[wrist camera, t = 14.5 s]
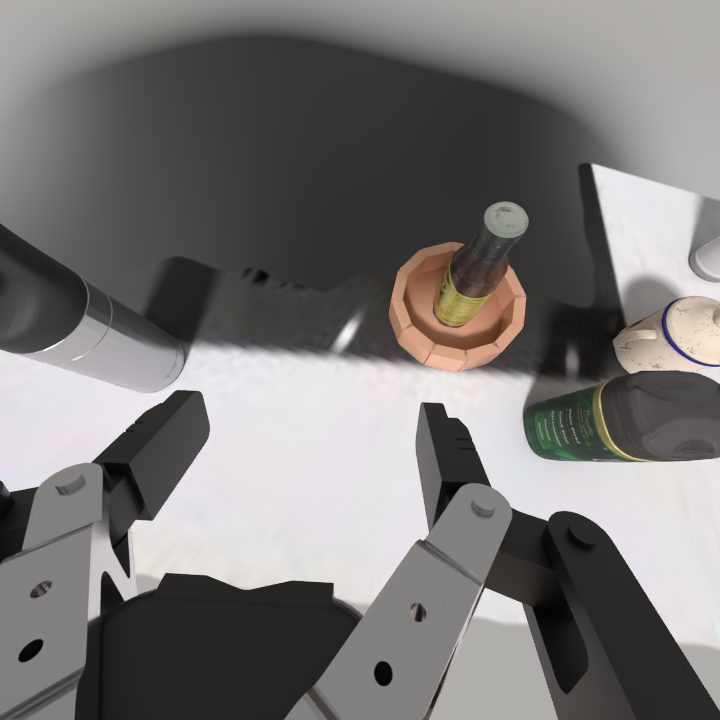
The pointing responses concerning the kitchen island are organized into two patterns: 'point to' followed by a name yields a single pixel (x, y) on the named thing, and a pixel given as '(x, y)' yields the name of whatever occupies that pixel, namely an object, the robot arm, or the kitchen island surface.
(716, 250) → the travel mug
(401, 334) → the terracotta bowl
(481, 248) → the sauce bottle
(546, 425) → the coffee jar
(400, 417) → the kitchen island surface
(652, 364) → the teacup with lid
